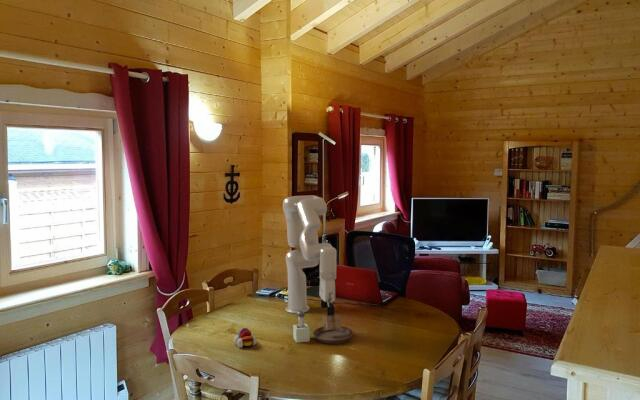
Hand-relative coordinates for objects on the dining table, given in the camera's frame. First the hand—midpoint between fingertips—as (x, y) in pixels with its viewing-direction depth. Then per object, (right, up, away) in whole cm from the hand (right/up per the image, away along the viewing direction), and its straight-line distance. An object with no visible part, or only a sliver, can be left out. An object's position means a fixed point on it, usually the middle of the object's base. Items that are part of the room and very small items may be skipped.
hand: (327, 311), depth 238 cm
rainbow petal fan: (-36, -13, -9) cm, 39 cm away
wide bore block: (-12, -12, -4) cm, 17 cm away
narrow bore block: (+2, -8, -3) cm, 8 cm away
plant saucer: (+2, -12, -3) cm, 12 cm away
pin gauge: (-12, -12, -4) cm, 17 cm away
